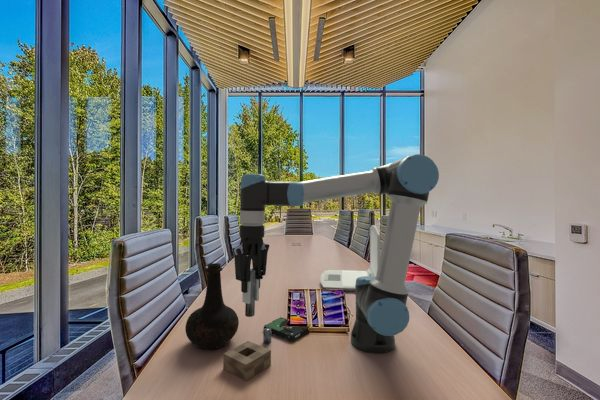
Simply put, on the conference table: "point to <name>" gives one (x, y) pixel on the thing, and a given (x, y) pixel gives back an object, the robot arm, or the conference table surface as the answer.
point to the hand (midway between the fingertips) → (250, 301)
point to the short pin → (267, 335)
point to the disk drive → (286, 330)
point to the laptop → (348, 277)
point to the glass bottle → (212, 315)
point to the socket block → (246, 360)
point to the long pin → (251, 295)
